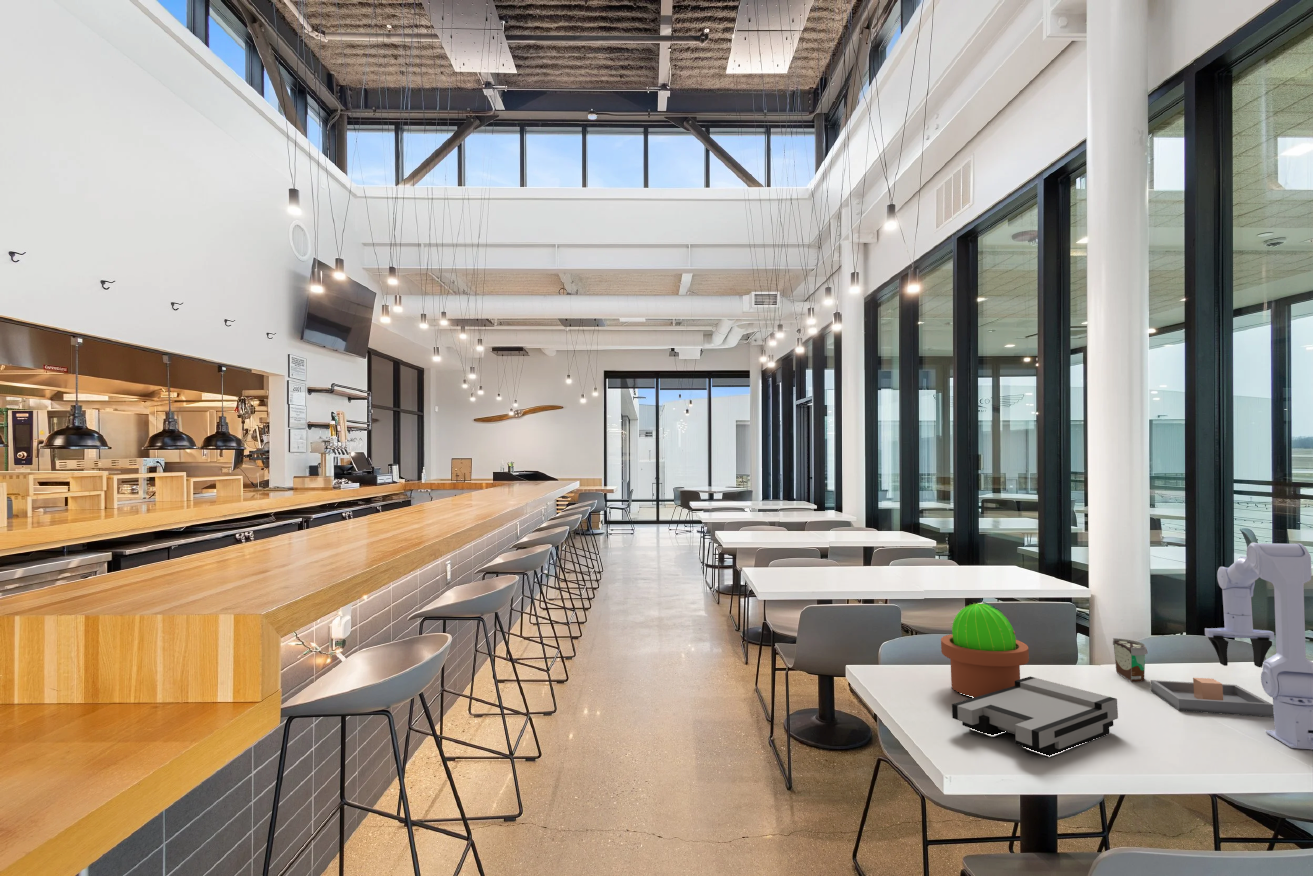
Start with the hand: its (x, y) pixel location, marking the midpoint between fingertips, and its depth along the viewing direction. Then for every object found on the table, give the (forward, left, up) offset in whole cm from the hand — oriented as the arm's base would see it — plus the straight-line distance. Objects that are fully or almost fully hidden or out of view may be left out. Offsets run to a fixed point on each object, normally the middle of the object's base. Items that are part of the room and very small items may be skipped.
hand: (1241, 665), depth 177 cm
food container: (+18, +18, -10) cm, 27 cm away
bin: (-3, +9, -9) cm, 13 cm away
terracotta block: (-3, +9, -9) cm, 13 cm away
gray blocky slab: (-34, +58, -10) cm, 68 cm away
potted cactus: (-5, +63, -10) cm, 64 cm away
